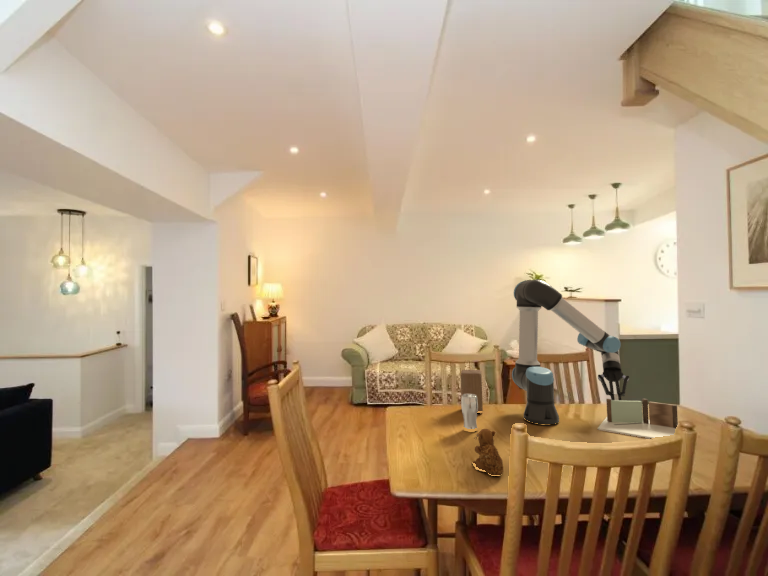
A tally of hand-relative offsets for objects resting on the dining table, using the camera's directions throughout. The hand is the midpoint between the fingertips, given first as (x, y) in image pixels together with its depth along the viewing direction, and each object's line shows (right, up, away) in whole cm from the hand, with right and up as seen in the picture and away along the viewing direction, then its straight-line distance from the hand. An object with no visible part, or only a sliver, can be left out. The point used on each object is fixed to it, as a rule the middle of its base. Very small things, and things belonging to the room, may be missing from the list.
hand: (617, 408), depth 172 cm
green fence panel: (+2, -5, -2) cm, 6 cm away
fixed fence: (+14, -5, -7) cm, 16 cm away
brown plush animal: (-68, -8, -43) cm, 81 cm away
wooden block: (-59, -9, +23) cm, 64 cm away
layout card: (+5, -6, -8) cm, 11 cm away
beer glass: (-66, -8, -4) cm, 67 cm away
